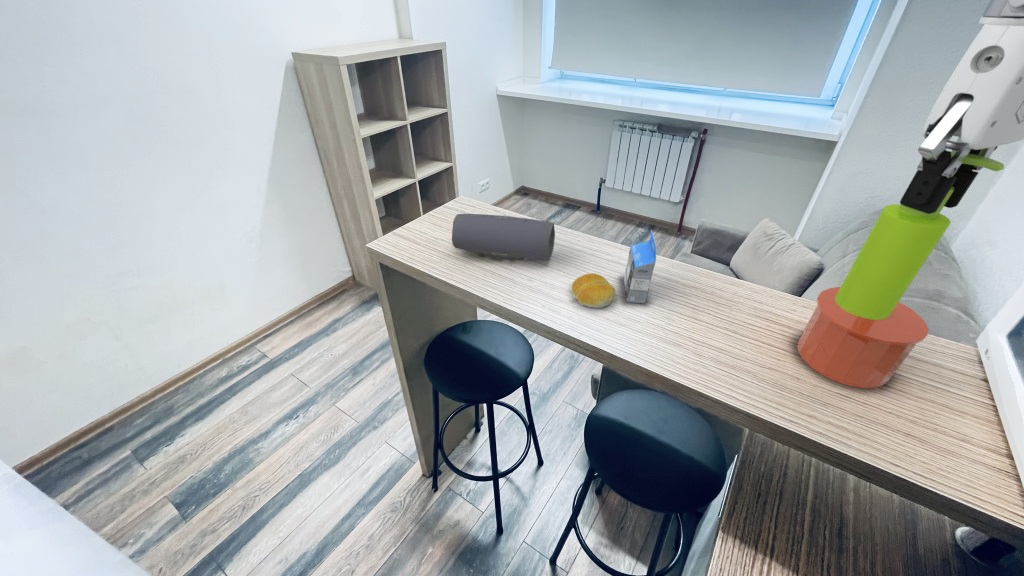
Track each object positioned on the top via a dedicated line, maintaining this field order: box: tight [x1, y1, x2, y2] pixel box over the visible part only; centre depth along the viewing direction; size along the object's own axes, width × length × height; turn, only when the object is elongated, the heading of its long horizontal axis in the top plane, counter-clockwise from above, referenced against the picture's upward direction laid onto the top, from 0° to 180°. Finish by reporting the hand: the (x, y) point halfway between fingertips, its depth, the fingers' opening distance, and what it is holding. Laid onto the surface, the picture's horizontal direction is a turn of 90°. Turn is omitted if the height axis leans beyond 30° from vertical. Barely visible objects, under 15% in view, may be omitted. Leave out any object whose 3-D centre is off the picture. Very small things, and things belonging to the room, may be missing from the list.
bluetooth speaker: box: [451, 213, 556, 262], centre depth 95 cm, size 23×9×10 cm, turn 76°
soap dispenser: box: [835, 151, 1005, 320], centre depth 48 cm, size 6×7×20 cm
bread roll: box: [571, 273, 616, 309], centre depth 82 cm, size 8×9×4 cm
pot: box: [797, 304, 918, 389], centre depth 65 cm, size 13×13×10 cm
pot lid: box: [816, 286, 929, 345], centre depth 61 cm, size 14×14×5 cm
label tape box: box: [623, 229, 658, 304], centre depth 81 cm, size 9×4×12 cm, turn 171°
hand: (927, 204), depth 45 cm, fingers closed on soap dispenser, 3 cm apart
